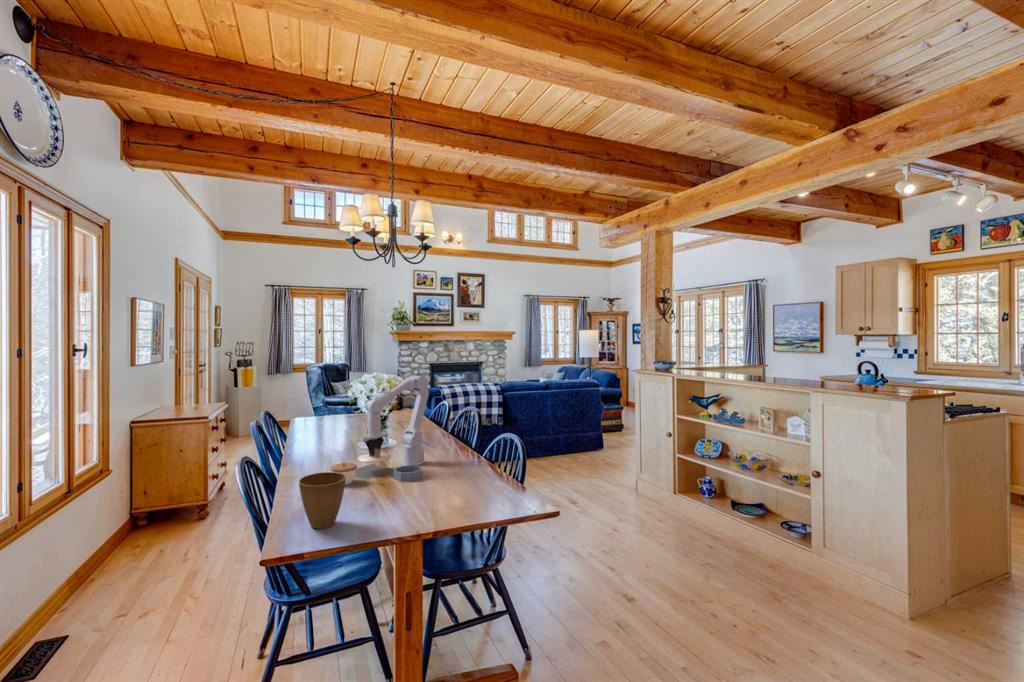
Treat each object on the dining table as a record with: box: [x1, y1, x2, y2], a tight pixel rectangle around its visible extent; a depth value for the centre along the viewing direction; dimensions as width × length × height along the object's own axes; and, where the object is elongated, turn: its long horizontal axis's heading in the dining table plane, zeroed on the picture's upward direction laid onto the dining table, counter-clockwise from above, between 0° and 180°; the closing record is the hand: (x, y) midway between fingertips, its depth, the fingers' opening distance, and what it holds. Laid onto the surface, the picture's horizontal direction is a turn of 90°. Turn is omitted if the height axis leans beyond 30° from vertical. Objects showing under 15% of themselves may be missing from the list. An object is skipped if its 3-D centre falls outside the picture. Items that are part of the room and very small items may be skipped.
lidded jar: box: [330, 461, 358, 486], centre depth 208 cm, size 11×11×9 cm
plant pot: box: [298, 471, 346, 529], centre depth 164 cm, size 15×15×16 cm
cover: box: [357, 449, 392, 464], centre depth 225 cm, size 15×15×4 cm
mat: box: [355, 463, 394, 480], centre depth 226 cm, size 18×18×1 cm
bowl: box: [393, 465, 423, 483], centre depth 218 cm, size 12×12×4 cm
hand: (374, 454), depth 225 cm, fingers closed on cover, 2 cm apart
